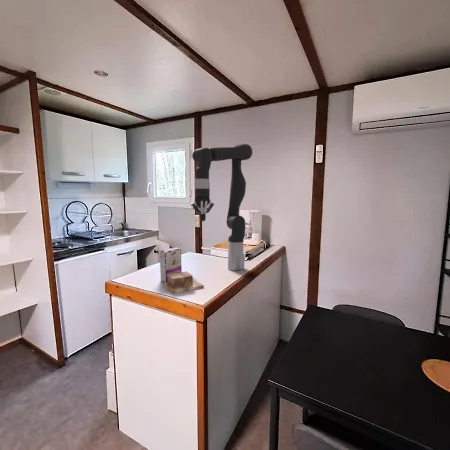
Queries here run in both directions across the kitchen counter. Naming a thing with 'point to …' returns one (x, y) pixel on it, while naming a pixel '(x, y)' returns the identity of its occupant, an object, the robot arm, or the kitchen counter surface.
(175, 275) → the walnut block
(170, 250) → the candy bar box
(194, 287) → the birch board
